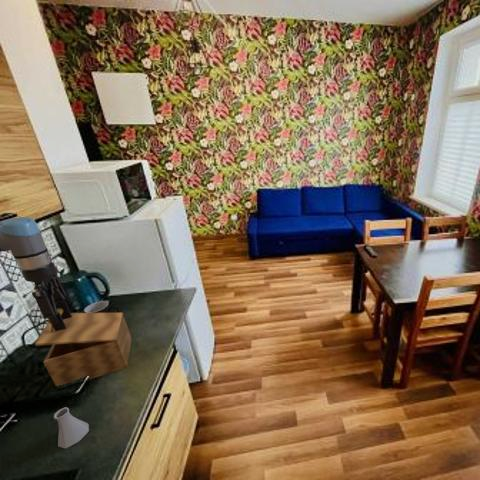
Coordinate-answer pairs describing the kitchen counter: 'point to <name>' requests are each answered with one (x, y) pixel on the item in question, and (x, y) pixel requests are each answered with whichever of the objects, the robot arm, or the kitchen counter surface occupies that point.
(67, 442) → the flask
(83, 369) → the chest
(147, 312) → the kitchen counter surface
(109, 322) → the knobbed wooden cover
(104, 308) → the coffee mug
